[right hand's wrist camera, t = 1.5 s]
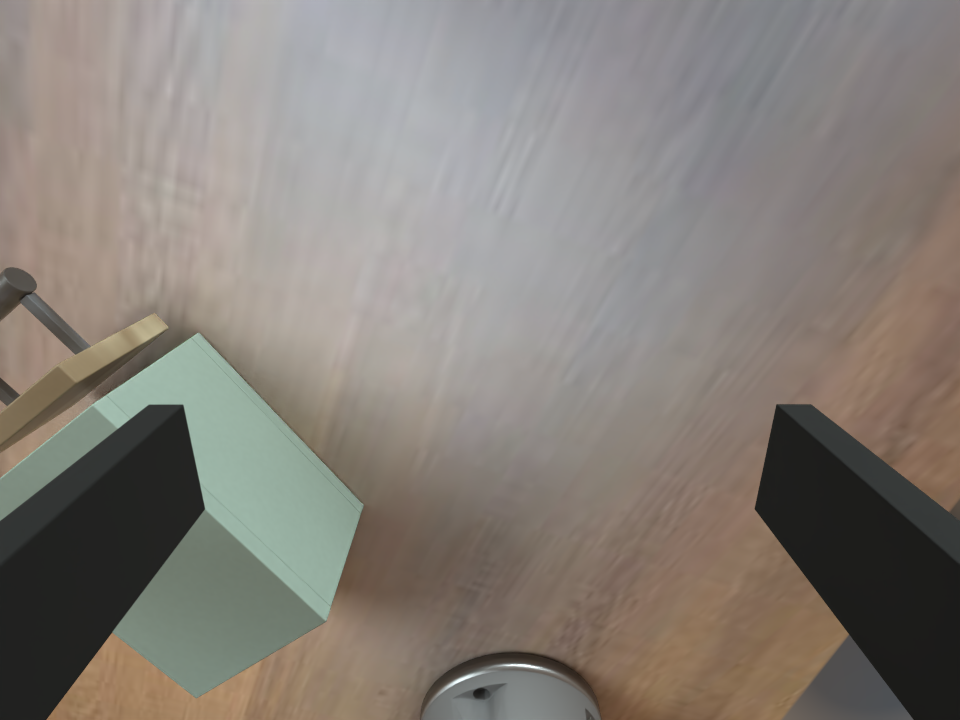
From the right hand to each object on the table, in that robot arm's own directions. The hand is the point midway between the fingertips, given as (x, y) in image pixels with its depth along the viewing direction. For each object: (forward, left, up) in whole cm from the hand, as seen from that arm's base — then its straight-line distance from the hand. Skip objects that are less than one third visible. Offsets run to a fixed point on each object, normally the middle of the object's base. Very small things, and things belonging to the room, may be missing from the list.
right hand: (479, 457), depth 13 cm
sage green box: (-20, +10, -23) cm, 32 cm away
